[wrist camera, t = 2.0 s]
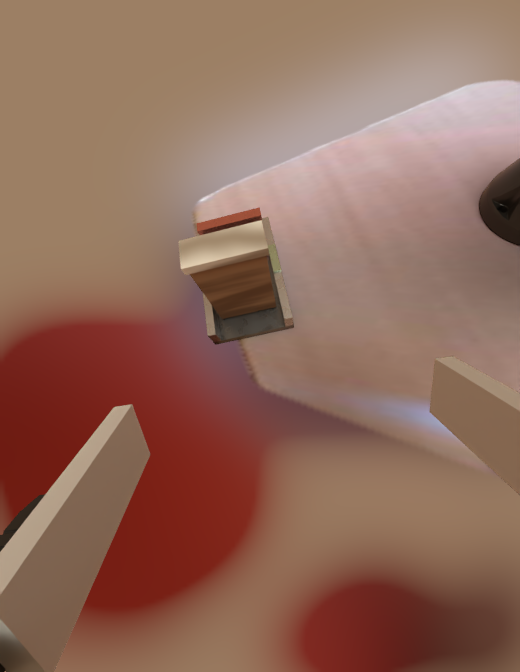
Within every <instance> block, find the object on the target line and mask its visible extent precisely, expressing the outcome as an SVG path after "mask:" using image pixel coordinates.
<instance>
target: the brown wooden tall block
mask: <svg viewBox="0 0 520 672" xmlns="http://www.w3.org/2000/svg"><path fill="white" fill-rule="evenodd" d="M179 252H180V263H181V270H182V271H183V273H184V274H185V275H188V274H190V275H191V277H192V278H193V279H194V281H195V282H196V284H197V285H198V286H199V288H200V289H201V291H202V292H203V293H204V295H205V296H206V298H207V299H208V300H209V302H210V303H211V304H212V306H213V307H214V309H215V310H216V311H217V313H218V314H219V315H220V317H221V318H222V319H225V318H229V317H234V316H238V315H243V314H247V313H252V312H256V311H260V310H265V309H269V308H274V307H276V302H275V297H274V292H273V287H272V281H271V276H270V271H269V266H268V261H267V255H269V251H268V246H267V241H266V237H265V233H264V228H263V224H262V220H260V221H256V222H252V223H248V224H244V225H240V226H236V227H232V228H228V229H224V230H220V231H216V232H212V233H208V234H204V235H200V236H196V237H192V238H188V239H185V240H181V241H179Z"/></svg>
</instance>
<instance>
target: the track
mask: <svg viewBox="0 0 520 672" xmlns="http://www.w3.org/2000/svg"><path fill="white" fill-rule="evenodd" d="M260 220H262V224H263V228H264V233H265V237H266V241H267V246H268V251H269V255H267V261H268V266H269V271H270V276H271V281H272V287H273V292H274V297H275V302H276V307H274V308H269V309H265V310H260V311H256V312H252V313H247V314H243V315H238V316H234V317H229V318H225V319H222V318H221V317H220V315H219V314H218V313H217V311H216V310H215V309H214V307H213V306H212V304H211V303H210V302H209V300H208V299H207V298H206V296H205V295H204V293H203V299H204V307H205V316H206V325H207V334H208V337H209V338H210V339H211V340H212V341H213V342H214V343H215V344H220V343H225V342H230V341H234V340H239V339H243V338H248V337H252V336H257V335H262V334H266V333H271V332H275V331H280V330H284V329H289V328H294V324H293V318H292V313H291V309H290V305H289V301H288V297H287V293H286V289H285V284H284V280H283V276H282V272H281V267H280V263H279V259H278V255H277V251H276V247H275V243H274V239H273V235H272V231H271V227H270V223H269V218H268V217H266V218H262V217H261V213H260V208H256V209H252V210H248V211H244V212H240V213H236V214H232V215H228V216H224V217H221V218H217V219H213V220H209V221H205V222H201V223H197V231H198V233H199V234H198V235H196V236H200V235H204V234H208V233H212V232H216V231H220V230H224V229H228V228H232V227H236V226H240V225H244V224H248V223H252V222H256V221H260Z"/></svg>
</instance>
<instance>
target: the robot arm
mask: <svg viewBox="0 0 520 672" xmlns="http://www.w3.org/2000/svg"><path fill="white" fill-rule="evenodd" d="M479 206H480V213H481V215H482V218H483V220H484V221H485V223H486V224H487V225H488V226H489V228H490V229H491V230H493V231H494V232H495V233H496V234H498V235H499V236H501V237H502V238H504V239H506V240H508V241H510V242H513V243H515V244H518V245H520V159H518V160H517V161H516V162H514V163H513V164H512V165H510V166H509V167H507V168H506V169H505V170H503V171H502V172H501V173H499V174H498V175H497V176H496V177H495V178H494V179H493V180H492V182H491V183H490V184H489V185H488V187H487V188H486V189H485V190H484V192H483V194H482V196H481V198H480V204H479ZM430 413H431V414H432V415H433V416H435V417H436V418H437V419H438V420H439V421H440V422H441V423H442V424H443V425H444V426H445V427H446V428H448V429H449V430H450V431H451V432H452V433H453V434H454V435H455V436H456V437H457V438H458V439H459V440H461V441H462V442H463V443H464V444H465V445H466V446H467V447H468V448H469V449H470V450H471V451H472V452H474V453H475V454H476V455H477V456H478V457H479V458H480V459H481V460H482V461H483V462H484V463H485V464H487V465H488V466H489V467H490V468H491V469H492V470H493V471H494V472H495V473H496V474H497V475H498V476H500V477H501V478H502V479H503V480H504V481H505V482H506V483H507V484H508V485H509V486H510V487H511V488H513V489H514V490H515V491H516V492H517V493H518V494H519V495H520V393H519V392H517V391H515V390H513V389H511V388H510V387H508V386H506V385H504V384H502V383H501V382H499V381H497V380H495V379H493V378H491V377H490V376H488V375H486V374H484V373H482V372H481V371H479V370H477V369H475V368H473V367H472V366H470V365H468V364H466V363H464V362H462V361H461V360H459V359H457V358H455V357H453V356H450V357H443V358H436V359H435V364H434V373H433V383H432V393H431V403H430ZM149 456H150V452H149V450H148V447H147V444H146V441H145V439H144V436H143V433H142V431H141V428H140V425H139V422H138V420H137V417H136V414H135V411H134V408H133V406H132V405H125V406H118V407H114V408H113V409H112V411H111V412H110V413H109V415H108V416H107V417H106V418H105V420H104V421H103V422H102V423H101V425H100V426H99V427H98V429H97V430H96V431H95V432H94V434H93V435H92V436H91V437H90V439H89V440H88V441H87V443H86V444H85V445H84V446H83V448H82V449H81V450H80V451H79V453H78V454H77V455H76V456H75V458H74V459H73V460H72V462H71V463H70V464H69V465H68V467H67V468H66V469H65V470H64V472H63V473H62V474H61V476H60V477H59V478H58V479H57V481H56V482H55V483H54V485H53V486H52V487H51V488H50V489H49V491H48V492H47V493H46V494H45V495H39V496H38V497H37V498H36V499H34V500H33V501H32V502H31V503H30V504H28V505H27V506H26V507H25V508H24V509H23V510H22V511H20V512H19V513H18V515H17V516H16V517H15V518H14V520H13V521H12V522H11V523H10V524H9V526H8V527H7V528H6V529H5V530H4V533H3V535H0V672H4V671H6V672H54V670H55V668H56V666H57V663H58V661H59V659H60V657H61V654H62V652H63V650H64V648H65V645H66V643H67V641H68V639H69V636H70V634H71V632H72V629H73V627H74V625H75V623H76V621H77V618H78V616H79V614H80V611H81V609H82V607H83V605H84V602H85V600H86V598H87V596H88V594H89V591H90V589H91V587H92V585H93V582H94V580H95V578H96V576H97V573H98V571H99V569H100V566H101V564H102V562H103V560H104V558H105V555H106V553H107V551H108V548H109V546H110V544H111V542H112V539H113V537H114V535H115V533H116V530H117V528H118V526H119V524H120V521H121V519H122V517H123V515H124V512H125V510H126V508H127V506H128V503H129V501H130V499H131V497H132V494H133V492H134V490H135V488H136V485H137V483H138V481H139V479H140V476H141V474H142V472H143V470H144V467H145V465H146V463H147V461H148V458H149Z"/></svg>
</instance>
